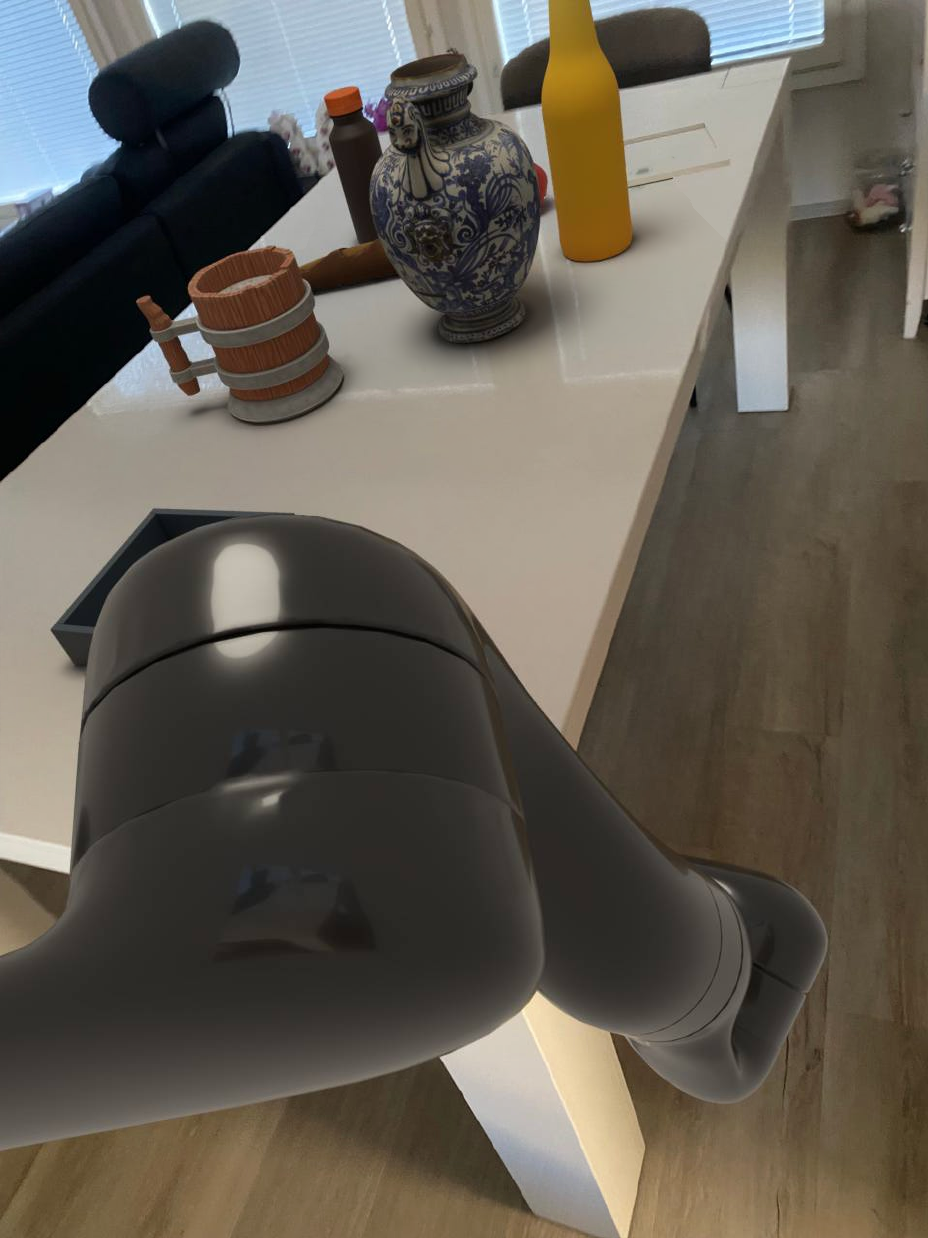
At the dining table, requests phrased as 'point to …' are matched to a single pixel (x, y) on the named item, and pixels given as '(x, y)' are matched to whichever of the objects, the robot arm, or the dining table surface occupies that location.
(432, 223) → the decorative vase
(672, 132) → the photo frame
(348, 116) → the vinegar
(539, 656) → the dining table surface
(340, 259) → the bread
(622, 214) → the beer bottle
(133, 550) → the tray
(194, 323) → the mug
